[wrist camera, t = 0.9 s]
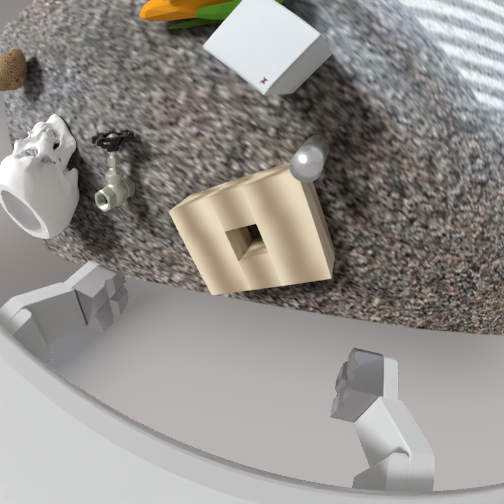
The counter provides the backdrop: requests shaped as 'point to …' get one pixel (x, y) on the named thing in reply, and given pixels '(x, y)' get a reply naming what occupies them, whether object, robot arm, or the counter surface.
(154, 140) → the counter surface
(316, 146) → the steel peg
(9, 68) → the potato
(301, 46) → the supplement box
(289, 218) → the hole block
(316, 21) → the counter surface
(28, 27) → the counter surface
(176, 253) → the counter surface
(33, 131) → the skull planter
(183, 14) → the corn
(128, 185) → the valve
